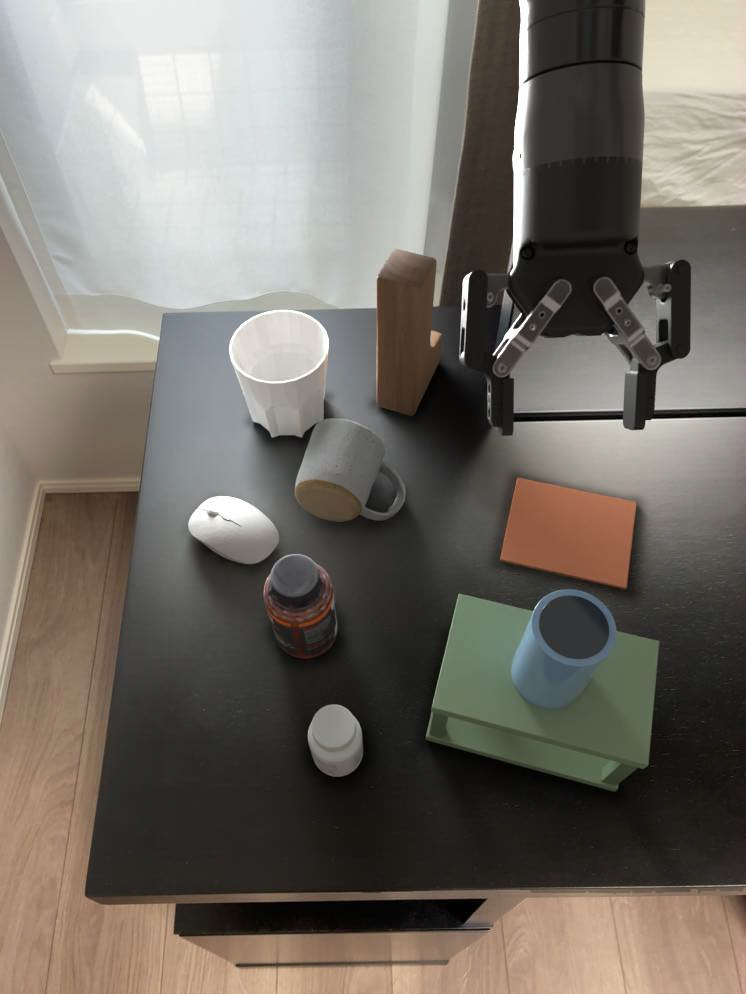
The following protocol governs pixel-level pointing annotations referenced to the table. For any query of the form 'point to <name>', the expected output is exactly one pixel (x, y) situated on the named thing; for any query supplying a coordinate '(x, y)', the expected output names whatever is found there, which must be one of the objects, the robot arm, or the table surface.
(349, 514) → the ceramic mug
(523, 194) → the robot arm
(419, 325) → the wooden block
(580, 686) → the tumbler
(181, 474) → the table surface
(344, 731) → the pill bottle
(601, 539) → the orange coaster
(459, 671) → the shelf
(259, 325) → the cup
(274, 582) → the supplement bottle
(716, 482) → the table surface
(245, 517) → the computer mouse
